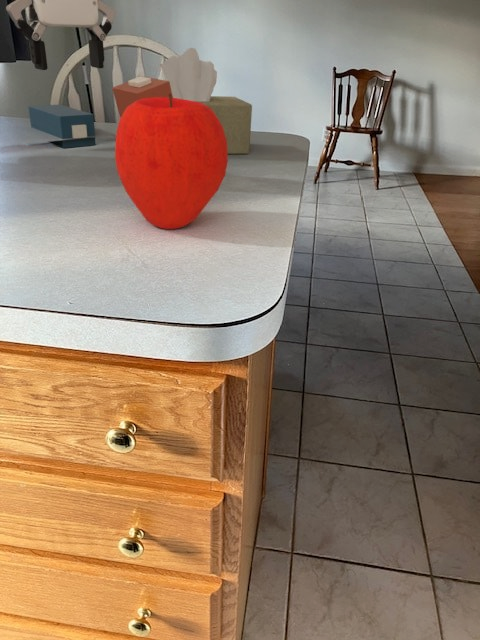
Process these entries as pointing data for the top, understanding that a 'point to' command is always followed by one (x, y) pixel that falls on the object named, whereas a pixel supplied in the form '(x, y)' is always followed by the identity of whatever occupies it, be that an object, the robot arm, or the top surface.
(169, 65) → the tissue box
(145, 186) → the apple
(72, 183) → the top surface
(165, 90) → the tissue pack front
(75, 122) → the tissue pack back
